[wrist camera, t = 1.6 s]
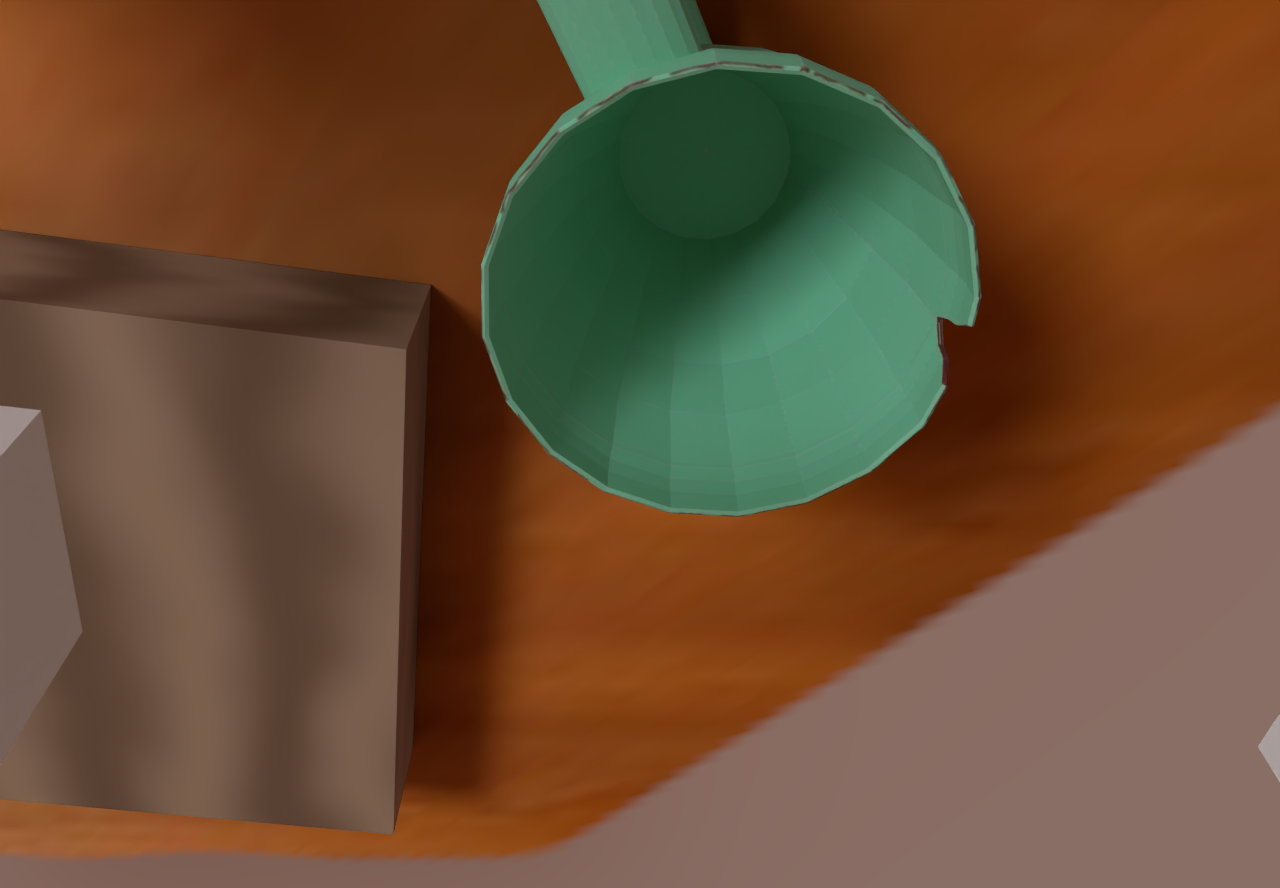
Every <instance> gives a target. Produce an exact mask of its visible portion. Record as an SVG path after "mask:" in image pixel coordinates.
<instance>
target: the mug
mask: <svg viewBox="0 0 1280 888" xmlns="http://www.w3.org/2000/svg"><path fill="white" fill-rule="evenodd" d="M537 2H538V4H539V6H540V8H541V10H542V12H543V14H544V16H545V18H546V20H547V22H548V24H549V26H550V28H551V30H552V33H553V35H554V37H555V39H556V41H557V43H558V45H559V47H560V49H561V51H562V53H563V55H564V57H565V59H566V61H567V64H568V66H569V68H570V70H571V72H572V74H573V76H574V78H575V80H576V82H577V84H578V86H579V88H580V90H581V92H582V95H583V97H584V99H585V100H583V101H582V102H580V103H579V104H577V105H576V106H574V107H572V108H571V109H569V110H568V111H566V112H565V113H563V114H562V115H561V116H560V118H559V119H558V120H557V122H556V123H555V124H554V125H553V127H552V128H551V129H550V130H549V132H548V133H547V134H546V135H545V137H544V138H543V139H542V140H541V142H540V143H539V144H538V145H537V147H536V148H535V149H534V150H533V152H532V153H531V154H530V155H529V157H528V158H527V159H526V160H525V162H524V163H523V164H522V166H521V167H520V168H519V169H518V171H517V172H516V173H515V174H514V176H513V177H512V179H511V180H510V182H509V185H508V188H507V191H506V194H505V196H504V199H503V202H502V205H501V208H500V211H499V214H498V217H497V219H496V222H495V225H494V228H493V231H492V234H491V237H490V240H489V242H488V245H487V248H486V251H485V254H484V257H483V261H482V264H481V299H482V338H483V341H484V344H485V347H486V349H487V352H488V355H489V357H490V360H491V363H492V365H493V368H494V371H495V374H496V376H497V379H498V382H499V384H500V387H501V390H502V393H503V395H504V398H505V401H506V402H507V404H508V405H509V406H510V407H511V409H512V410H513V411H514V412H515V413H516V415H517V416H518V417H519V418H520V420H521V421H522V422H523V423H524V425H525V426H526V427H527V428H528V430H529V431H530V432H531V433H532V435H533V436H534V437H535V438H536V440H537V441H538V442H539V443H540V444H541V446H542V447H543V448H544V449H545V451H546V452H547V453H548V454H549V455H550V456H552V457H553V458H555V459H556V460H558V461H559V462H561V463H562V464H564V465H565V466H567V467H568V468H570V469H571V470H573V471H574V472H576V473H577V474H579V475H580V476H582V477H583V478H585V479H586V480H588V481H589V482H591V483H592V484H594V485H595V486H597V487H598V488H600V489H601V490H602V491H604V492H607V493H610V494H613V495H616V496H619V497H622V498H625V499H628V500H631V501H634V502H637V503H640V504H643V505H647V506H650V507H653V508H656V509H659V510H662V511H665V512H668V513H679V514H697V515H715V516H733V517H740V516H745V515H750V514H755V513H760V512H765V511H770V510H775V509H780V508H785V507H790V506H796V505H801V504H806V503H809V502H811V501H813V500H815V499H817V498H819V497H821V496H823V495H825V494H827V493H830V492H832V491H834V490H836V489H838V488H840V487H842V486H844V485H846V484H848V483H850V482H852V481H854V480H857V479H859V478H861V477H863V476H865V475H867V474H869V473H871V472H872V471H873V470H875V469H876V468H877V467H878V466H879V465H880V464H881V463H883V462H884V461H885V460H886V459H887V458H888V457H890V456H891V455H892V454H893V453H894V452H895V451H897V450H898V449H899V448H900V447H901V446H902V445H903V444H905V443H906V442H907V441H908V440H909V439H910V438H912V437H913V436H914V435H915V434H916V433H917V432H919V431H920V430H921V429H922V428H923V427H924V426H925V425H926V423H927V421H928V420H929V418H930V416H931V415H932V413H933V411H934V410H935V408H936V406H937V405H938V403H939V401H940V399H941V398H942V396H943V394H944V393H945V391H946V389H947V388H948V370H949V357H948V355H947V352H946V350H945V347H944V344H943V325H942V322H943V318H945V319H948V320H950V321H951V322H952V323H954V324H955V325H957V326H963V327H969V328H971V327H972V326H974V323H975V320H976V316H977V312H978V309H979V305H980V301H981V285H980V274H979V262H978V250H977V239H976V227H975V223H974V221H973V219H972V217H971V215H970V213H969V210H968V208H967V206H966V204H965V202H964V200H963V198H962V196H961V194H960V192H959V190H958V188H957V185H956V183H955V181H954V179H953V177H952V175H951V173H950V171H949V169H948V167H947V165H946V163H945V161H944V158H943V156H942V155H941V154H940V152H939V151H938V149H937V148H936V147H935V145H934V144H933V143H932V142H930V141H929V140H928V139H927V138H926V137H925V136H924V135H923V134H922V133H921V132H920V131H919V130H918V129H917V128H916V127H915V126H914V125H913V124H911V123H910V122H909V121H908V120H907V119H906V118H905V117H904V116H903V115H902V114H901V113H900V112H899V111H898V110H897V109H896V108H895V107H893V106H892V105H891V104H890V103H889V102H888V101H887V100H886V99H885V98H884V97H883V96H882V95H881V94H880V93H879V92H878V91H876V90H875V89H874V88H872V87H871V86H869V85H867V84H864V83H862V82H860V81H857V80H855V79H853V78H850V77H848V76H846V75H843V74H841V73H839V72H836V71H834V70H832V69H829V68H827V67H825V66H822V65H820V64H818V63H816V62H813V61H811V60H809V59H806V58H804V57H802V56H799V55H797V54H789V53H778V52H774V51H771V50H767V49H764V48H758V47H744V46H730V45H716V44H712V41H711V39H710V36H709V34H708V31H707V28H706V26H705V23H704V21H703V18H702V16H701V13H700V10H699V8H698V5H697V3H696V0H537Z"/></svg>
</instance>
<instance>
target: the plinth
mask: <svg viewBox="0 0 1280 888" xmlns="http://www.w3.org/2000/svg"><path fill="white" fill-rule="evenodd" d="M430 299H431V285H428V284H420V283H412V282H405V281H397V280H389V279H381V278H373V277H365V276H358V275H350V274H342V273H334V272H326V271H319V270H311V269H303V268H295V267H287V266H280V265H272V264H264V263H256V262H248V261H241V260H233V259H225V258H217V257H209V256H201V255H194V254H186V253H178V252H170V251H162V250H155V249H147V248H139V247H131V246H123V245H116V244H108V243H100V242H92V241H84V240H77V239H69V238H61V237H53V236H45V235H38V234H30V233H22V232H14V231H6V230H0V406H8V407H17V408H26V409H34V410H41V412H42V418H43V423H44V428H45V434H46V439H47V444H48V450H49V455H50V460H51V466H52V471H53V476H54V482H55V487H56V492H57V498H58V503H59V508H60V514H61V519H62V524H63V530H64V535H65V540H66V546H67V551H68V556H69V562H70V567H71V572H72V578H73V583H74V588H75V594H76V599H77V604H78V610H79V615H80V620H81V626H82V631H83V632H82V633H81V635H80V637H79V638H78V640H77V641H76V643H75V645H74V646H73V648H72V650H71V651H70V653H69V654H68V656H67V658H66V659H65V661H64V663H63V664H62V666H61V667H60V669H59V671H58V672H57V674H56V675H55V677H54V679H53V680H52V682H51V684H50V685H49V687H48V688H47V690H46V692H45V693H44V695H43V696H42V698H41V700H40V701H39V703H38V705H37V706H36V708H35V709H34V711H33V713H32V714H31V716H30V717H29V719H28V721H27V722H26V724H25V726H24V727H23V729H22V730H21V732H20V734H19V735H18V737H17V739H16V740H15V742H14V743H13V745H12V747H11V748H10V750H9V751H8V753H7V755H6V756H5V758H4V760H3V761H2V763H1V764H0V799H4V800H15V801H26V802H37V803H48V804H60V805H71V806H82V807H93V808H104V809H116V810H127V811H138V812H149V813H160V814H171V815H183V816H194V817H205V818H216V819H227V820H238V821H250V822H261V823H272V824H283V825H294V826H305V827H317V828H328V829H339V830H350V831H361V832H372V833H384V834H394V829H395V825H396V821H397V816H398V812H399V807H400V803H401V798H402V794H403V790H404V785H405V781H406V776H407V772H408V768H409V763H410V759H411V754H412V750H413V733H414V707H415V682H416V656H417V631H418V605H419V580H420V554H421V529H422V503H423V478H424V452H425V427H426V401H427V376H428V350H429V325H430Z"/></svg>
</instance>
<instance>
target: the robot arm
mask: <svg viewBox="0 0 1280 888" xmlns="http://www.w3.org/2000/svg"><path fill="white" fill-rule="evenodd" d="M82 632H83V631H82V626H81V620H80V615H79V610H78V604H77V599H76V594H75V588H74V583H73V578H72V572H71V567H70V562H69V556H68V551H67V546H66V540H65V535H64V530H63V524H62V519H61V514H60V508H59V503H58V498H57V492H56V487H55V482H54V476H53V471H52V466H51V460H50V455H49V450H48V444H47V439H46V434H45V428H44V423H43V418H42V412H41V410H34V409H26V408H17V407H8V406H0V764H1V763H2V761H3V760H4V758H5V756H6V755H7V753H8V751H9V750H10V748H11V747H12V745H13V743H14V742H15V740H16V739H17V737H18V735H19V734H20V732H21V730H22V729H23V727H24V726H25V724H26V722H27V721H28V719H29V717H30V716H31V714H32V713H33V711H34V709H35V708H36V706H37V705H38V703H39V701H40V700H41V698H42V696H43V695H44V693H45V692H46V690H47V688H48V687H49V685H50V684H51V682H52V680H53V679H54V677H55V675H56V674H57V672H58V671H59V669H60V667H61V666H62V664H63V663H64V661H65V659H66V658H67V656H68V654H69V653H70V651H71V650H72V648H73V646H74V645H75V643H76V641H77V640H78V638H79V637H80V635H81V633H82ZM1258 748H1259V749H1260V751H1261V753H1262V754H1263V756H1264V758H1265V759H1266V761H1267V762H1268V764H1269V766H1270V767H1271V769H1272V770H1273V772H1274V774H1275V775H1276V777H1277V778H1278V780H1279V782H1280V714H1279V715H1278V717H1277V718H1276V720H1275V721H1274V723H1273V724H1272V726H1271V727H1270V729H1269V730H1268V732H1267V733H1266V735H1265V736H1264V738H1263V739H1262V741H1261V743H1260V744H1259V746H1258Z"/></svg>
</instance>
